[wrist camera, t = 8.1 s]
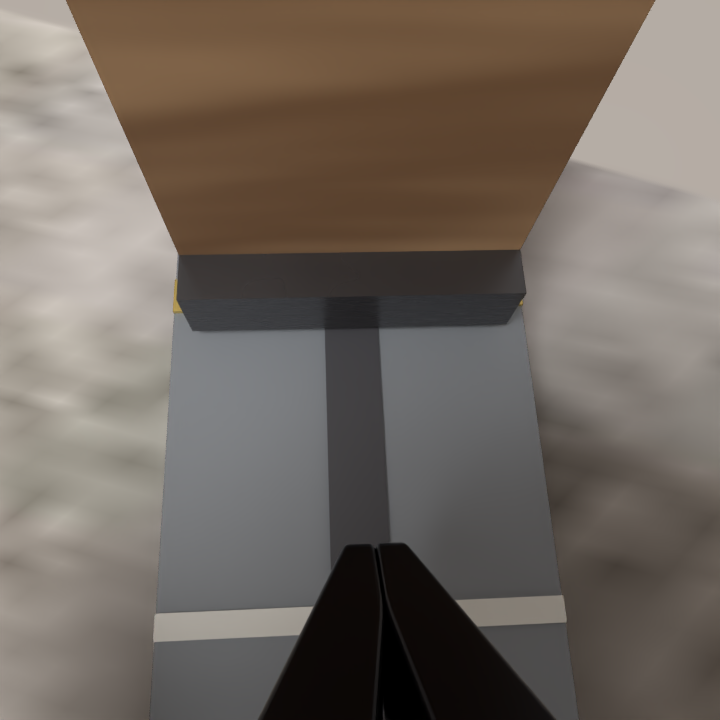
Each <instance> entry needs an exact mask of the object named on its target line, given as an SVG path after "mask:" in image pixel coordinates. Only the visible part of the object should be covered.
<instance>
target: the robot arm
mask: <svg viewBox="0 0 720 720" xmlns="http://www.w3.org/2000/svg"><path fill="white" fill-rule="evenodd" d="M383 713H384V720H557V719H556V718H555V717H554V716H553V714H552V713H551V712H550V711H549V710H548V709H547V707H546V706H545V705H544V704H543V703H542V702H541V700H540V699H539V698H538V697H537V696H536V695H535V693H534V692H533V691H532V690H531V689H530V688H529V686H528V685H527V684H526V683H525V682H524V680H523V679H522V678H521V677H520V676H519V675H518V673H517V672H516V671H515V670H514V669H513V668H512V666H511V665H510V664H509V663H508V662H507V661H506V659H505V658H504V657H503V656H502V655H501V654H500V652H499V651H498V650H497V649H496V648H495V647H494V645H493V644H492V643H491V642H490V641H489V639H488V638H487V637H486V636H485V635H484V634H483V632H482V631H481V630H480V629H479V628H478V627H477V625H476V624H475V623H474V622H473V621H472V620H471V618H470V617H469V616H468V615H467V614H466V613H465V611H464V610H463V609H462V608H461V607H460V605H459V604H458V603H457V602H456V601H455V600H454V598H453V597H452V596H451V595H450V594H449V593H448V591H447V590H446V589H445V588H444V587H443V586H442V584H441V583H440V582H439V581H438V580H437V579H436V577H435V576H434V575H433V574H432V573H431V571H430V570H429V569H428V568H427V567H426V566H425V564H424V563H423V562H422V561H421V560H420V559H419V557H418V556H417V555H416V554H415V553H414V552H413V550H412V549H411V548H410V547H409V546H408V545H407V544H406V543H403V542H396V543H379V544H378V545H377V546H376V548H375V547H374V546H373V545H372V544H348V545H345V546H344V547H343V548H342V550H341V552H340V554H339V556H338V558H337V560H336V562H335V564H334V566H333V568H332V570H331V572H330V574H329V576H328V578H327V580H326V582H325V584H324V586H323V588H322V590H321V592H320V594H319V596H318V598H317V600H316V602H315V604H314V606H313V608H312V610H311V612H310V615H309V617H308V619H307V621H306V623H305V625H304V627H303V629H302V631H301V633H300V635H299V637H298V639H297V641H296V643H295V645H294V647H293V649H292V651H291V653H290V655H289V657H288V659H287V661H286V663H285V665H284V667H283V669H282V671H281V673H280V675H279V677H278V679H277V681H276V683H275V685H274V687H273V689H272V691H271V693H270V695H269V697H268V699H267V701H266V703H265V705H264V707H263V709H262V711H261V713H260V715H259V717H258V719H257V720H383Z"/></svg>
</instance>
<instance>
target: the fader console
mask: <svg viewBox="0 0 720 720" xmlns="http://www.w3.org/2000/svg"><path fill="white" fill-rule="evenodd" d="M178 263H179V254H178V260H177V276H176V280H175V287H174V303H173V312H174V325H173V341H172V358H171V374H170V391H169V407H168V423H167V440H166V456H165V473H164V489H163V505H162V522H161V538H160V555H159V571H158V587H157V604H156V614H155V615H154V631H153V642H154V653H153V669H152V686H151V702H150V719H149V720H257V719H258V717H259V715H260V713H261V711H262V709H263V707H264V705H265V703H266V701H267V699H268V697H269V695H270V693H271V691H272V689H273V687H274V685H275V683H276V681H277V679H278V677H279V675H280V673H281V671H282V669H283V667H284V665H285V663H286V661H287V659H288V657H289V655H290V653H291V651H292V649H293V647H294V645H295V643H296V641H297V639H298V637H299V635H300V633H301V631H302V629H303V627H304V625H305V623H306V621H307V619H308V617H309V615H310V612H311V610H312V608H313V606H314V604H315V602H316V600H317V598H318V596H319V594H320V592H321V590H322V588H323V586H324V584H325V582H326V580H327V578H328V576H329V574H330V572H331V570H332V568H333V566H334V564H335V562H336V560H337V558H338V556H339V554H340V552H341V550H342V548H343V547H344V546H345V545H348V544H372V545H373V546H374V547H375V548H376V546H377V545H378V544H379V543H396V542H403V543H406V544H407V545H408V546H409V547H410V548H411V549H412V550H413V552H414V553H415V554H416V555H417V556H418V557H419V559H420V560H421V561H422V562H423V563H424V564H425V566H426V567H427V568H428V569H429V570H430V571H431V573H432V574H433V575H434V576H435V577H436V579H437V580H438V581H439V582H440V583H441V584H442V586H443V587H444V588H445V589H446V590H447V591H448V593H449V594H450V595H451V596H452V597H453V598H454V600H455V601H456V602H457V603H458V604H459V605H460V607H461V608H462V609H463V610H464V611H465V613H466V614H467V615H468V616H469V617H470V618H471V620H472V621H473V622H474V623H475V624H476V625H477V627H478V628H479V629H480V630H481V631H482V632H483V634H484V635H485V636H486V637H487V638H488V639H489V641H490V642H491V643H492V644H493V645H494V647H495V648H496V649H497V650H498V651H499V652H500V654H501V655H502V656H503V657H504V658H505V659H506V661H507V662H508V663H509V664H510V665H511V666H512V668H513V669H514V670H515V671H516V672H517V673H518V675H519V676H520V677H521V678H522V679H523V680H524V682H525V683H526V684H527V685H528V686H529V688H530V689H531V690H532V691H533V692H534V693H535V695H536V696H537V697H538V698H539V699H540V700H541V702H542V703H543V704H544V705H545V706H546V707H547V709H548V710H549V711H550V712H551V713H552V714H553V716H554V717H555V718H556V719H557V720H579V716H578V709H577V701H576V694H575V687H574V680H573V673H572V665H571V658H570V651H569V644H568V637H567V630H566V622H567V617H566V610H565V603H564V596H563V595H562V594H561V586H560V579H559V572H558V565H557V558H556V551H555V543H554V536H553V529H552V522H551V515H550V507H549V500H548V493H547V486H546V479H545V472H544V464H543V457H542V450H541V443H540V436H539V428H538V421H537V414H536V407H535V400H534V393H533V385H532V378H531V371H530V364H529V357H528V349H527V342H526V335H525V328H524V321H523V314H522V305H523V301H521V302H520V304H519V305H518V307H517V308H516V310H515V312H514V313H513V315H512V316H511V318H510V319H509V321H508V322H507V324H495V325H450V326H406V327H361V328H317V329H272V330H227V331H192V329H191V327H190V325H189V324H188V322H187V320H186V318H185V316H184V314H183V312H182V310H181V308H180V306H179V304H178V302H177V300H176V296H177V280H178ZM383 720H384V713H383Z"/></svg>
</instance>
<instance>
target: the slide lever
mask: <svg viewBox="0 0 720 720" xmlns="http://www.w3.org/2000/svg"><path fill="white" fill-rule="evenodd" d="M66 1H67V4H68V6H69V8H70V10H71V13H72V15H73V17H74V20H75V22H76V24H77V26H78V29H79V31H80V33H81V35H82V38H83V40H84V42H85V44H86V47H87V49H88V51H89V54H90V56H91V58H92V60H93V63H94V65H95V67H96V69H97V72H98V74H99V76H100V78H101V81H102V83H103V85H104V87H105V90H106V92H107V94H108V96H109V99H110V101H111V103H112V105H113V108H114V110H115V112H116V114H117V117H118V119H119V121H120V123H121V126H122V128H123V130H124V132H125V135H126V137H127V139H128V141H129V144H130V146H131V148H132V150H133V153H134V155H135V157H136V159H137V162H138V164H139V166H140V168H141V171H142V173H143V175H144V177H145V180H146V182H147V184H148V186H149V189H150V191H151V193H152V195H153V198H154V200H155V202H156V204H157V207H158V209H159V211H160V213H161V216H162V218H163V220H164V223H165V225H166V227H167V229H168V232H169V234H170V236H171V238H172V241H173V243H174V245H175V247H176V250H177V252H178V254H179V263H178V280H177V296H176V300H177V302H178V304H179V306H180V308H181V310H182V312H183V314H184V316H185V318H186V320H187V322H188V324H189V325H190V327H191V329H192V331H227V330H272V329H317V328H361V327H406V326H450V325H495V324H507V322H508V321H509V319H510V318H511V316H512V315H513V313H514V312H515V310H516V308H517V307H518V305H519V304H520V302H521V301H522V299H523V297H524V296H525V294H526V287H525V280H524V273H523V266H522V259H521V252H520V249H521V247H522V245H523V243H524V242H525V240H526V238H527V236H528V234H529V232H530V230H531V229H532V227H533V225H534V223H535V221H536V219H537V218H538V216H539V214H540V212H541V210H542V208H543V206H544V205H545V203H546V201H547V199H548V197H549V195H550V194H551V192H552V190H553V188H554V186H555V184H556V183H557V181H558V179H559V177H560V175H561V173H562V171H563V170H564V168H565V166H566V164H567V162H568V160H569V159H570V157H571V155H572V153H573V151H574V149H575V147H576V146H577V144H578V142H579V140H580V138H581V136H582V134H583V133H584V131H585V129H586V127H587V125H588V123H589V121H590V120H591V118H592V116H593V114H594V112H595V111H596V109H597V107H598V105H599V103H600V101H601V99H602V98H603V96H604V94H605V92H606V90H607V88H608V87H609V85H610V83H611V81H612V79H613V77H614V76H615V74H616V72H617V70H618V68H619V66H620V64H621V63H622V61H623V59H624V57H625V55H626V53H627V52H628V50H629V48H630V46H631V44H632V42H633V41H634V39H635V37H636V35H637V33H638V31H639V30H640V28H641V26H642V24H643V22H644V20H645V18H646V16H647V15H648V13H649V11H650V9H651V7H652V6H653V4H654V2H655V0H66Z"/></svg>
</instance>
